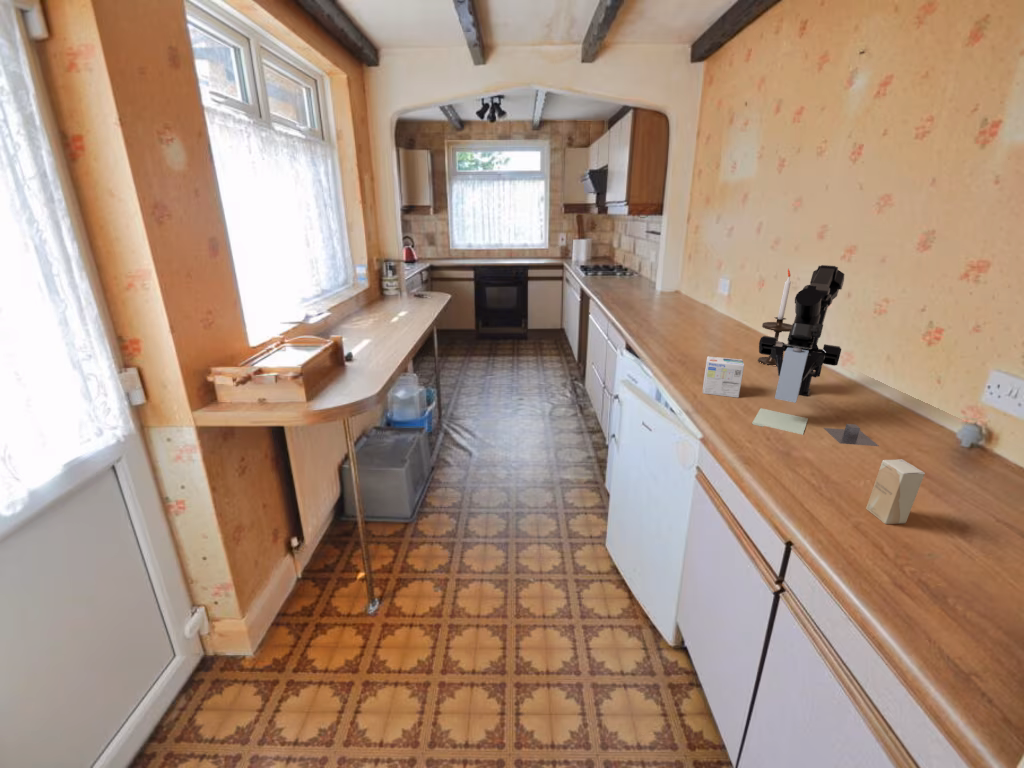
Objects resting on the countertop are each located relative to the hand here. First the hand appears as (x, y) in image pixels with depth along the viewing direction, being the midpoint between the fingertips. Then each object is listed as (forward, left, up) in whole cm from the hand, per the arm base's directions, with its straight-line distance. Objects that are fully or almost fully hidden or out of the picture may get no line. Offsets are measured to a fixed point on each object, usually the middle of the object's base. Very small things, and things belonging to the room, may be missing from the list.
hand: (790, 377), depth 127 cm
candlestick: (-60, -11, -14) cm, 63 cm away
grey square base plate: (-1, +16, -13) cm, 21 cm away
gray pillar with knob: (-1, 0, -6) cm, 6 cm away
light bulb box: (-15, -19, -14) cm, 28 cm away
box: (+35, +23, -14) cm, 44 cm away
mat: (-1, 0, -13) cm, 14 cm away
